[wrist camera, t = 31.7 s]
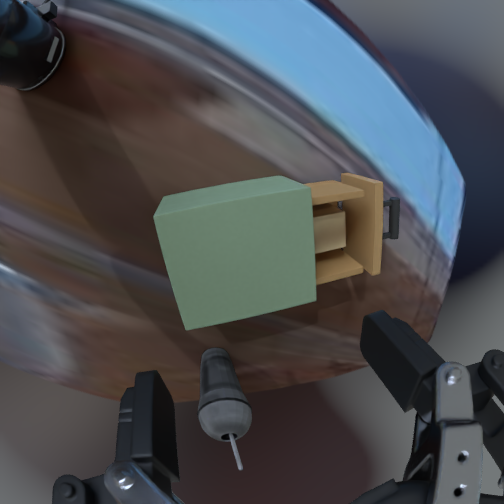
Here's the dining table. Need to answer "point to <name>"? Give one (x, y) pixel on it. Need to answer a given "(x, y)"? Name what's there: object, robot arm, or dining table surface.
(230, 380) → the beverage cup
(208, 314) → the cabinet
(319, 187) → the drawer
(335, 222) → the block
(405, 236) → the dining table surface
